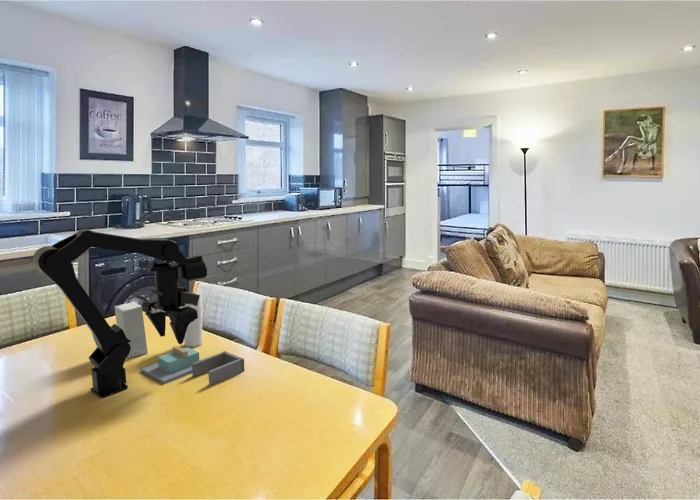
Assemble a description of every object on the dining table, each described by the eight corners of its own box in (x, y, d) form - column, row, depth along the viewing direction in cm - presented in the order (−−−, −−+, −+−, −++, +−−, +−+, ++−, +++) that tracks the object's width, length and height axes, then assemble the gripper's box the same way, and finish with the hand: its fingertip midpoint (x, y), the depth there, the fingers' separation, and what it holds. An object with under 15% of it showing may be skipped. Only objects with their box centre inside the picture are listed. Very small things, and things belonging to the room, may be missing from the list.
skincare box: (148, 353, 130) (144, 306, 127) (126, 359, 126) (122, 310, 123) (138, 345, 136) (134, 300, 133) (118, 351, 132) (113, 304, 129)
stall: (211, 385, 110) (210, 372, 109) (192, 375, 115) (191, 363, 115) (244, 370, 118) (243, 358, 118) (225, 362, 124) (224, 351, 123)
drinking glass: (190, 350, 132) (187, 303, 130) (178, 345, 136) (174, 299, 134) (209, 343, 138) (206, 298, 135) (196, 338, 142) (193, 295, 139)
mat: (163, 383, 111) (163, 381, 111) (141, 371, 118) (140, 368, 118) (204, 367, 120) (204, 365, 120) (180, 357, 127) (180, 354, 127)
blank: (169, 373, 115) (168, 357, 114) (158, 367, 119) (157, 351, 118) (199, 362, 122) (198, 347, 121) (188, 356, 126) (187, 342, 125)
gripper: (213, 284, 116) (216, 338, 118) (176, 274, 127) (179, 325, 130) (175, 292, 107) (179, 351, 110) (138, 282, 118) (143, 335, 121)
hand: (171, 339), depth 118 cm, fingers open, 9 cm apart
